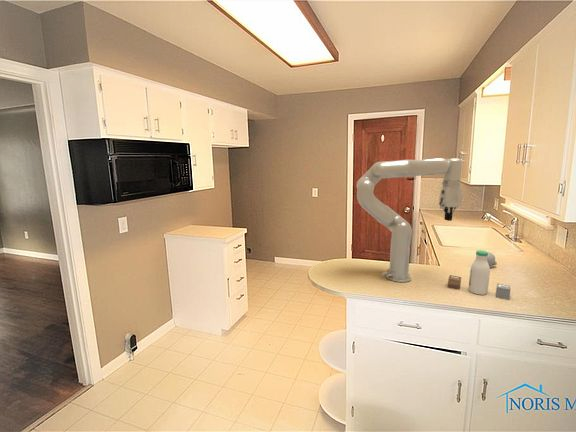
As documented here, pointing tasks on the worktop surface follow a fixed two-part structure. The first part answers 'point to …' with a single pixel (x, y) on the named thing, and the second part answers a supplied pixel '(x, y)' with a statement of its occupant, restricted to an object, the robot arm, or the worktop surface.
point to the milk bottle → (479, 274)
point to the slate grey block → (503, 291)
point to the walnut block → (454, 282)
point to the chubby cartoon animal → (491, 260)
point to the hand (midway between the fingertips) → (448, 220)
